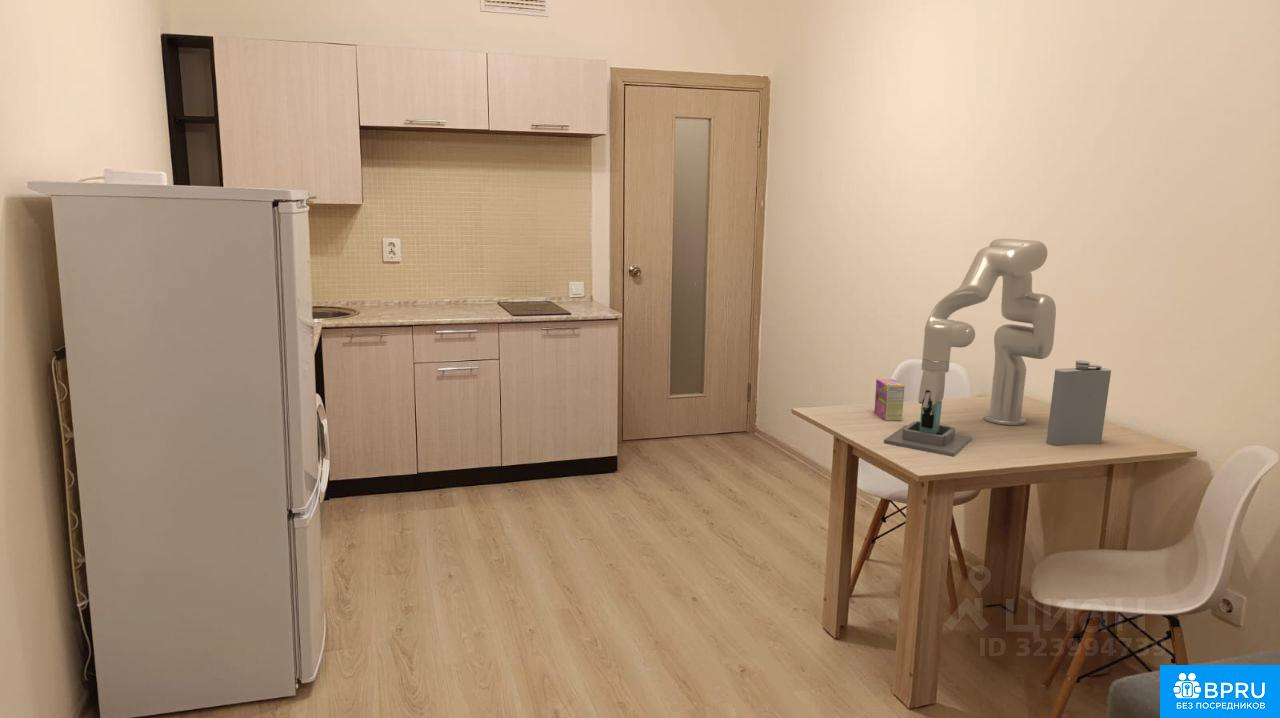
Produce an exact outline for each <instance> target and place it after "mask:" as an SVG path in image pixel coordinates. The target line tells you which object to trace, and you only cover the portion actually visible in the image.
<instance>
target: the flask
mask: <svg viewBox="0 0 1280 718" xmlns="http://www.w3.org/2000/svg"><path fill="white" fill-rule="evenodd" d="M1074 363H1075V366H1074V367H1067V368H1066V367H1064V368H1055V370H1054V376H1053V377H1054V378H1053V383H1052V384H1053V385H1052V386H1053V387H1052V393H1051V399H1050V400H1051V402H1050V409H1049V418H1048V426H1047V432H1046V440H1045V443H1046V444H1047V445H1049V446H1052V447H1053V446H1054V447H1059V446H1069V445H1101V444H1102V439H1103V431H1104V425H1105V417H1106V411H1107V404H1108V398H1109V397H1108V396H1109V388H1110V383H1111V376H1112V375H1111V373H1112V370H1111V369H1109V368H1104V367H1102V366H1101V365H1099V364H1091V363H1090V361H1087V360H1082V359H1081V360H1079V359H1078V360H1075V362H1074Z"/></svg>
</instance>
